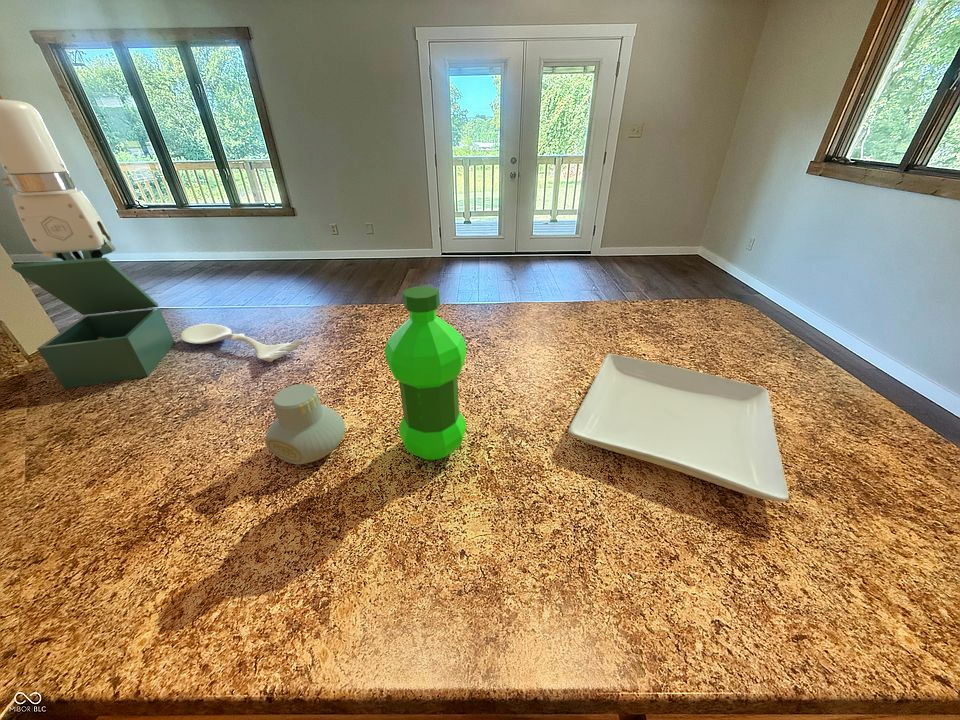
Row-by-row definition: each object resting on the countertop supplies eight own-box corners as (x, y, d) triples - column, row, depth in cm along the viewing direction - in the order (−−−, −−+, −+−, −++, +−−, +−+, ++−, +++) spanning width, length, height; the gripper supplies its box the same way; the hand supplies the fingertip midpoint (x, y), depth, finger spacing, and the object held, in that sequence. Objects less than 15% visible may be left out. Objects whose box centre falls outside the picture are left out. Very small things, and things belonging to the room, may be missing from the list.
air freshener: (357, 439, 60) (345, 387, 55) (320, 477, 53) (302, 421, 48) (303, 423, 63) (288, 372, 58) (262, 456, 57) (240, 402, 52)
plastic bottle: (424, 419, 64) (410, 274, 51) (480, 438, 60) (479, 286, 47) (386, 457, 56) (358, 298, 44) (446, 482, 52) (434, 314, 40)
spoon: (274, 372, 77) (270, 357, 75) (174, 343, 88) (168, 330, 87) (308, 352, 84) (304, 338, 83) (211, 328, 95) (206, 315, 94)
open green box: (148, 376, 76) (127, 337, 72) (64, 389, 72) (36, 348, 68) (175, 342, 89) (159, 307, 84) (104, 351, 85) (84, 315, 81)
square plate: (604, 366, 78) (607, 350, 76) (761, 404, 67) (769, 385, 65) (564, 448, 58) (566, 428, 56) (780, 521, 47) (793, 500, 45)
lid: (106, 260, 69) (106, 257, 69) (10, 267, 66) (11, 264, 66) (158, 307, 84) (158, 304, 84) (82, 315, 80) (83, 312, 81)
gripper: (-28, 188, 62) (38, 295, 71) (85, 184, 66) (134, 286, 75) (4, 183, 68) (62, 282, 77) (106, 180, 72) (149, 275, 81)
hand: (97, 284), depth 76 cm, fingers closed
